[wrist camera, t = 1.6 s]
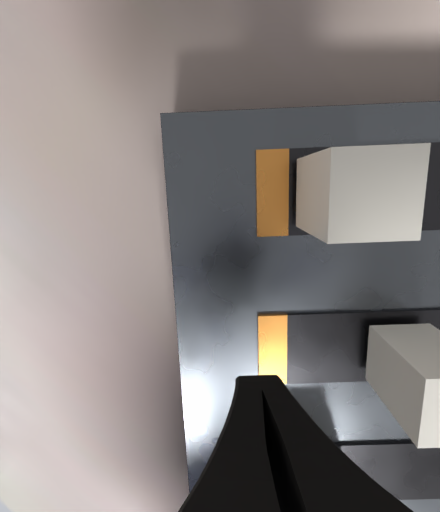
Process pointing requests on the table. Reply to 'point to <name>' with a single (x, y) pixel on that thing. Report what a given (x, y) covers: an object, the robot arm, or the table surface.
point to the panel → (295, 279)
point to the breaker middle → (408, 377)
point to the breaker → (363, 193)
